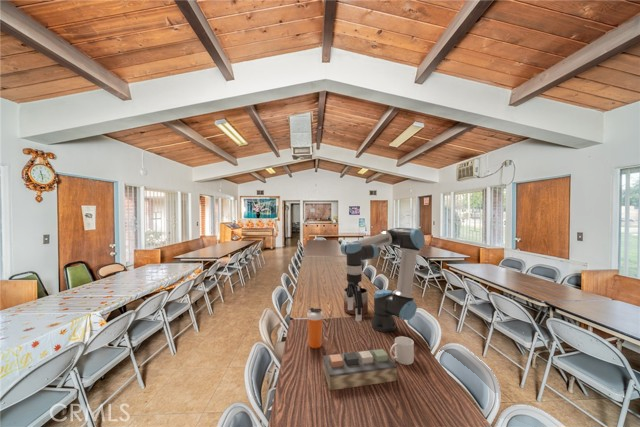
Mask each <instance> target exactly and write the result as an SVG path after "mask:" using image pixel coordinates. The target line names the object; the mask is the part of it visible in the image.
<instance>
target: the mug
mask: <svg viewBox="0 0 640 427" xmlns="http://www.w3.org/2000/svg"><path fill="white" fill-rule="evenodd" d="M414 343H415V342H414V340H413V339H412V338H410V337H407V336H402V335H401V336H396V337H395V338H394V344H392V346H391V347H390V349H389V350H390V351H389V356H390V357H391V359H393V360H395V361H396V362H397V363H398V364H402V365H404V366H405V365H406V366H408V365H412V364H413V363H414V361H415V354H414V352H415V350H414V349H415V347H414V346H415V344H414ZM393 350H394V355H393Z"/></svg>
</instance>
